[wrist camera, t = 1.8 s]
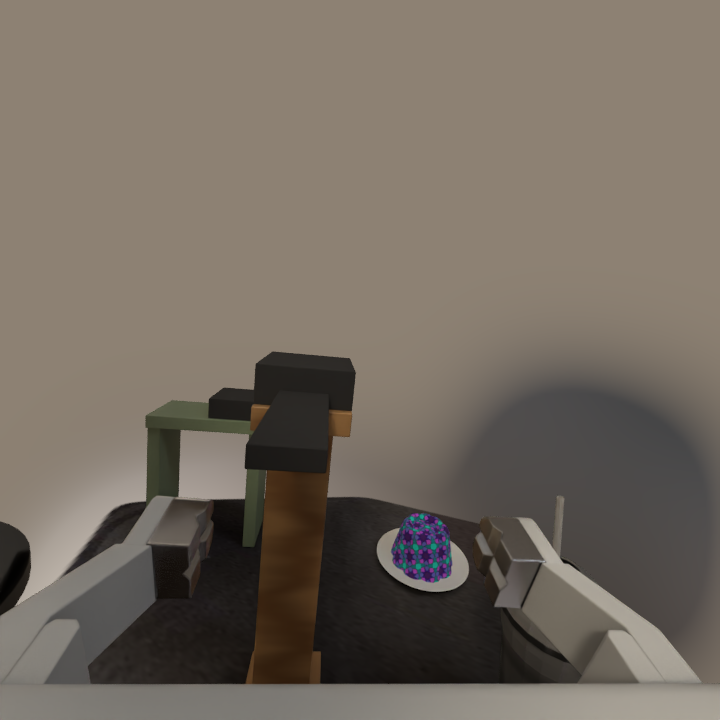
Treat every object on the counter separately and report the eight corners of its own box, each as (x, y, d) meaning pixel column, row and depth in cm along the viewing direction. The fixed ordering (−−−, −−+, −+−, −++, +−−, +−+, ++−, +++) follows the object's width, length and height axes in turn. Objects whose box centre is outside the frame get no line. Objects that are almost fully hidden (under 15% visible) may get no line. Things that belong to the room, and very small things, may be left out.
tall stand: (229, 764, 24) (251, 406, 20) (252, 662, 31) (271, 382, 27) (316, 762, 24) (352, 413, 21) (319, 662, 31) (346, 388, 28)
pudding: (425, 524, 54) (430, 493, 53) (488, 578, 44) (494, 540, 43) (359, 544, 48) (363, 508, 47) (414, 612, 38) (420, 568, 37)
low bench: (143, 546, 43) (145, 415, 41) (168, 513, 50) (171, 400, 48) (253, 549, 45) (261, 423, 42) (263, 517, 52) (270, 407, 49)
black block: (207, 418, 42) (208, 398, 42) (222, 405, 48) (223, 387, 48) (258, 421, 43) (259, 402, 43) (266, 408, 49) (267, 390, 49)
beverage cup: (523, 834, 22) (582, 546, 19) (459, 707, 29) (495, 482, 26) (607, 796, 24) (671, 534, 22) (529, 687, 31) (570, 477, 28)
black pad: (201, 467, 13) (204, 400, 12) (270, 383, 27) (272, 351, 27) (365, 476, 13) (372, 412, 13) (347, 389, 27) (350, 358, 27)
